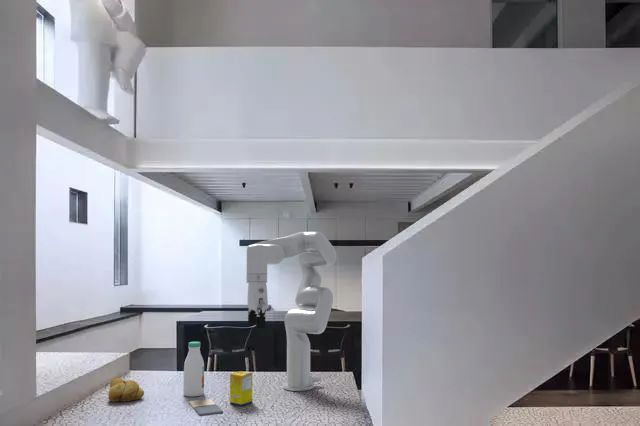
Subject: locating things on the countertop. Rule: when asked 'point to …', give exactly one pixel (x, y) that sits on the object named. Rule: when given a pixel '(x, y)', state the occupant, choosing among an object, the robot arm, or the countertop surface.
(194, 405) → the cream square tile
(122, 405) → the countertop surface
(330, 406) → the countertop surface
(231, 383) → the supplement box
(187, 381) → the milk bottle
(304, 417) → the countertop surface
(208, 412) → the slate mat
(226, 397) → the countertop surface
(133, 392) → the bread roll
